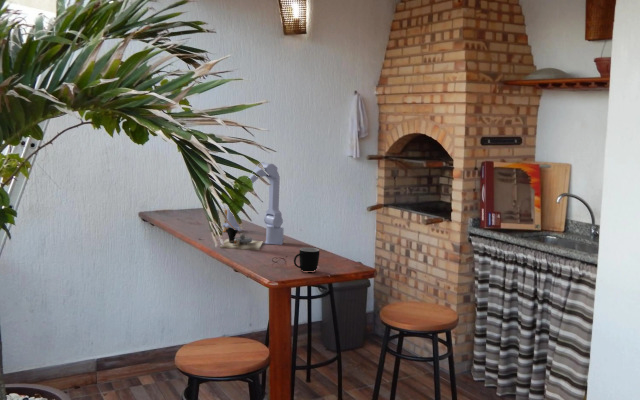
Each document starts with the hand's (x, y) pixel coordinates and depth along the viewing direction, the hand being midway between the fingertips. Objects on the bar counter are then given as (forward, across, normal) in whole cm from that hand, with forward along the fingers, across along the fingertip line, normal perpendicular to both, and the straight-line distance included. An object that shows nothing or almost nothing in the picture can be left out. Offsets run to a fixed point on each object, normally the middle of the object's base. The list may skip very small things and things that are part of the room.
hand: (231, 242), depth 357 cm
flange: (0, +1, +5) cm, 5 cm away
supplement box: (+2, -40, +25) cm, 47 cm away
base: (+2, 0, +7) cm, 7 cm away
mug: (+2, +63, -5) cm, 63 cm away
